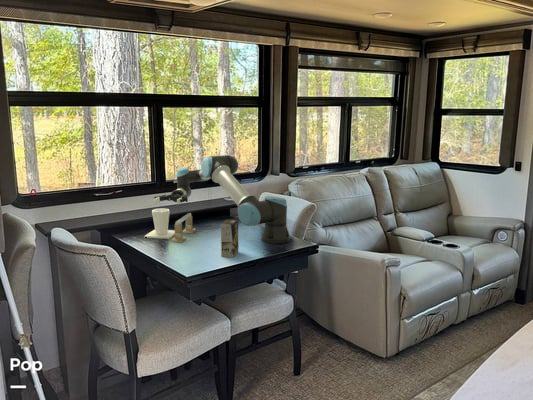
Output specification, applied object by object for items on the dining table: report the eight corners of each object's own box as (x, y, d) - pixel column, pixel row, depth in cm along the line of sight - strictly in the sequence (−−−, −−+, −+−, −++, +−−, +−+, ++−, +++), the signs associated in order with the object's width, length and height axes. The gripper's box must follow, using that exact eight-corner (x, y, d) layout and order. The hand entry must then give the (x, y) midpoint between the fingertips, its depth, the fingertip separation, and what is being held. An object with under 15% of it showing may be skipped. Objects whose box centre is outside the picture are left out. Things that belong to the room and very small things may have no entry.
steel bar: (188, 215, 260) (188, 212, 260) (191, 215, 260) (191, 213, 260) (175, 224, 239) (175, 222, 239) (178, 224, 239) (178, 222, 238)
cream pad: (178, 232, 259) (177, 230, 259) (169, 238, 245) (169, 237, 245) (154, 231, 261) (154, 229, 261) (144, 237, 247) (144, 236, 247)
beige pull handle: (185, 230, 263) (185, 215, 261) (195, 230, 262) (195, 215, 260) (171, 241, 240) (171, 224, 239) (182, 242, 240) (182, 225, 238)
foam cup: (152, 231, 256) (151, 208, 254) (169, 230, 259) (168, 207, 256) (153, 235, 247) (152, 212, 245) (170, 234, 250) (170, 211, 247)
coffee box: (234, 257, 215) (233, 224, 212) (220, 256, 216) (220, 223, 213) (239, 251, 224) (238, 219, 220) (226, 250, 225) (225, 219, 222)
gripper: (198, 201, 279) (187, 208, 259) (159, 200, 283) (145, 207, 262) (197, 189, 278) (187, 195, 257) (158, 189, 282) (144, 194, 261)
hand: (166, 201), depth 260 cm, fingers open, 13 cm apart
